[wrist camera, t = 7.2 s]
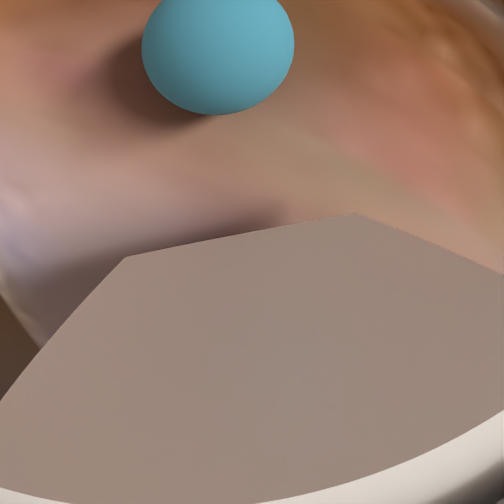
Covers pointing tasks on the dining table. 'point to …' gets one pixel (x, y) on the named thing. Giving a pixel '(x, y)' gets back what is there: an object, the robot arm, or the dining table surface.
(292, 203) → the dining table surface
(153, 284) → the cream matte cube
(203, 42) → the ball
